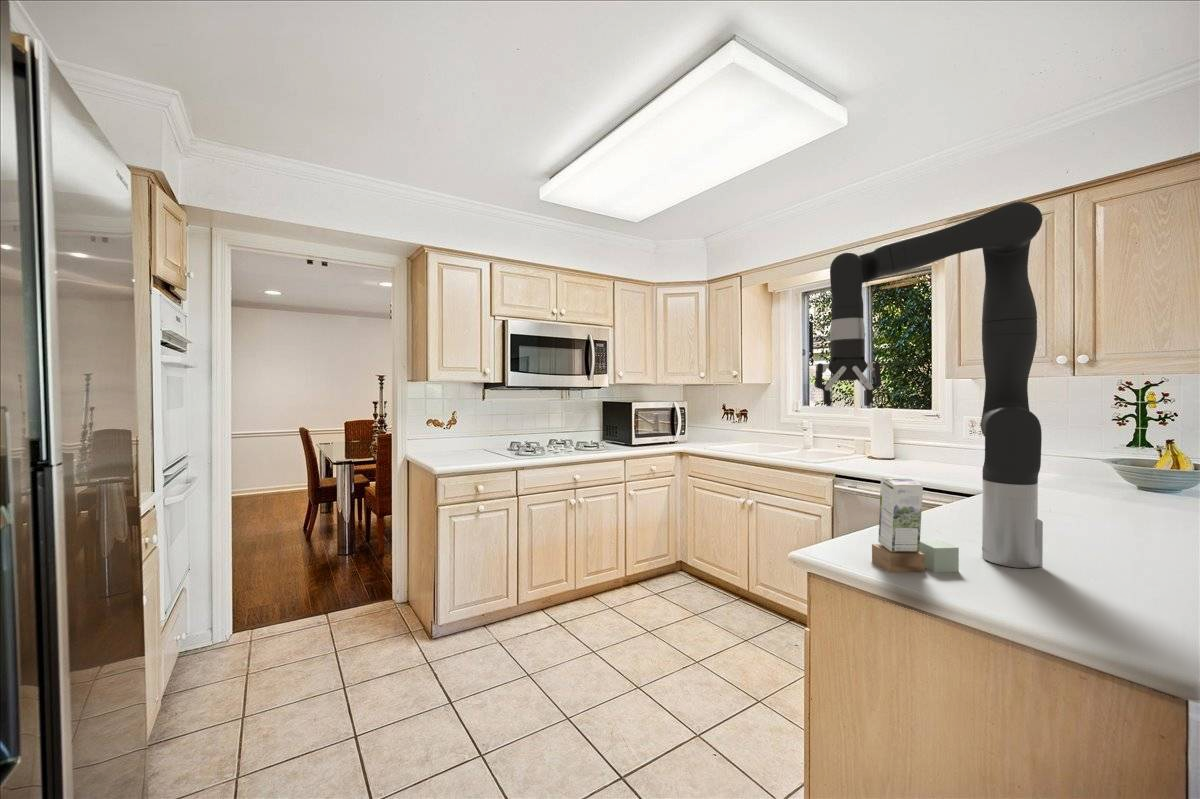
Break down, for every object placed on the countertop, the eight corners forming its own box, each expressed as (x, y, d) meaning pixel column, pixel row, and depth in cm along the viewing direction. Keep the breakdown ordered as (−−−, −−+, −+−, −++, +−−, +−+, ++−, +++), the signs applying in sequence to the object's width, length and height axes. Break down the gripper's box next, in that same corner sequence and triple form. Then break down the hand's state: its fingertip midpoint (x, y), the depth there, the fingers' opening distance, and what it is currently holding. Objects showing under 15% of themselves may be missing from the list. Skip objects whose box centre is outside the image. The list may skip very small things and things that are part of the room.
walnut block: (904, 562, 111) (904, 543, 111) (924, 573, 104) (924, 554, 104) (872, 562, 111) (871, 544, 111) (890, 574, 104) (890, 554, 104)
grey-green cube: (941, 563, 109) (941, 540, 109) (958, 572, 104) (958, 547, 104) (918, 564, 109) (918, 540, 109) (934, 572, 104) (934, 548, 104)
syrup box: (905, 542, 110) (907, 476, 109) (920, 553, 104) (923, 483, 103) (877, 542, 111) (879, 476, 109) (891, 553, 105) (894, 483, 103)
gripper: (875, 339, 125) (875, 405, 126) (812, 341, 129) (813, 405, 129) (884, 336, 118) (884, 406, 118) (818, 338, 121) (818, 406, 122)
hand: (847, 406), depth 124 cm, fingers open, 8 cm apart
